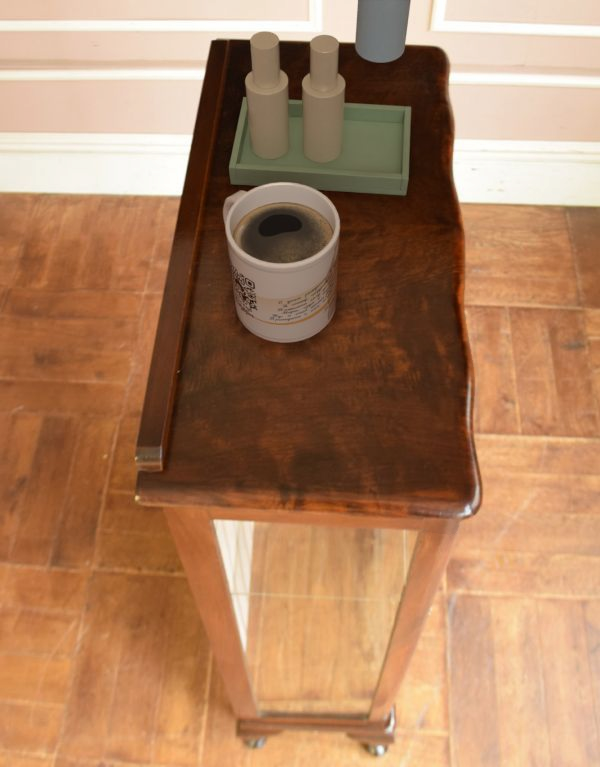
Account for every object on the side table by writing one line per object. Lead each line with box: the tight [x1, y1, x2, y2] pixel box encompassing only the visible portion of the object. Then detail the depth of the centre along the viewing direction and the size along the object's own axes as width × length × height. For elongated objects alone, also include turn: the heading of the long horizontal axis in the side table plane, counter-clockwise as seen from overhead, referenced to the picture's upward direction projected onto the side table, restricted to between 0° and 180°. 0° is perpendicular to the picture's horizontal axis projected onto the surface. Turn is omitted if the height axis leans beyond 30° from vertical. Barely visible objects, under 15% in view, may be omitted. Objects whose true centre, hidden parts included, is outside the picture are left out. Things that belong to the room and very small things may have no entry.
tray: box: [228, 96, 412, 196], centre depth 85 cm, size 19×11×2 cm, turn 84°
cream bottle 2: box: [301, 34, 346, 163], centre depth 80 cm, size 4×4×13 cm
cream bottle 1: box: [244, 31, 290, 159], centre depth 80 cm, size 4×4×13 cm
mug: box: [222, 182, 341, 344], centre depth 71 cm, size 10×12×11 cm
